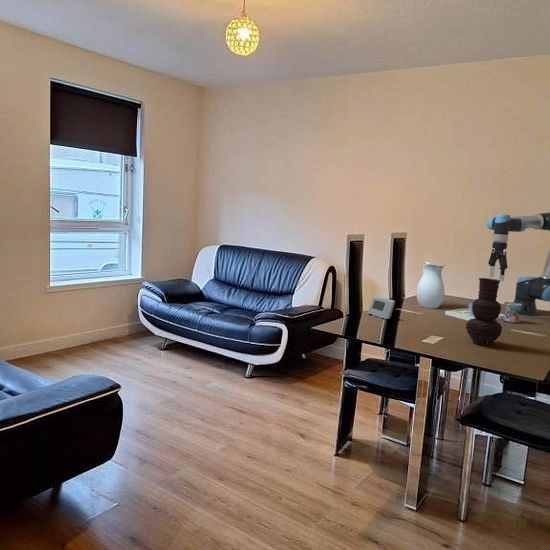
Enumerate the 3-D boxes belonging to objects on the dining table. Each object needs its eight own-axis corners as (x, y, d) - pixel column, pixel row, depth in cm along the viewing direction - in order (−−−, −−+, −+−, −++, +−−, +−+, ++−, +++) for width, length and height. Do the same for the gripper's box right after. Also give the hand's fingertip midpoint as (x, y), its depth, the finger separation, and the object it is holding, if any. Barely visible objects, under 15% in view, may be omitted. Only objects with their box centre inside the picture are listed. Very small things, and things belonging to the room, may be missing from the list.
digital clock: (365, 314, 277) (367, 295, 276) (379, 313, 281) (380, 295, 279) (382, 320, 262) (384, 301, 261) (396, 320, 266) (398, 300, 264)
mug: (517, 324, 273) (520, 306, 272) (500, 321, 279) (502, 303, 278) (522, 321, 283) (524, 303, 281) (505, 318, 288) (507, 300, 287)
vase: (482, 349, 217) (490, 282, 213) (456, 339, 231) (464, 276, 227) (507, 347, 223) (516, 282, 219) (481, 338, 237) (488, 276, 233)
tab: (472, 309, 299) (473, 301, 298) (479, 311, 295) (480, 303, 294) (468, 309, 297) (469, 301, 296) (475, 311, 293) (476, 303, 292)
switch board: (476, 311, 306) (477, 306, 305) (506, 318, 289) (507, 313, 289) (445, 314, 289) (445, 309, 289) (474, 322, 273) (475, 317, 272)
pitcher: (446, 310, 303) (451, 265, 299) (419, 308, 303) (423, 263, 299) (434, 302, 326) (439, 261, 323) (409, 301, 327) (413, 259, 323)
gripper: (484, 239, 289) (480, 275, 292) (502, 243, 264) (498, 282, 268) (497, 240, 289) (493, 276, 292) (516, 243, 264) (512, 282, 267)
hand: (495, 279), depth 280 cm, fingers open, 13 cm apart
